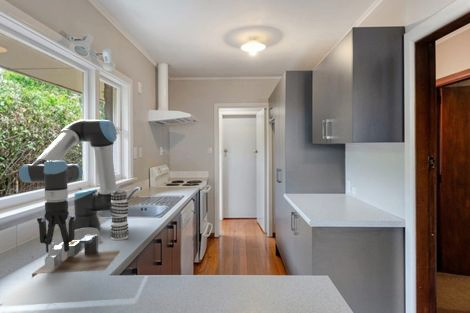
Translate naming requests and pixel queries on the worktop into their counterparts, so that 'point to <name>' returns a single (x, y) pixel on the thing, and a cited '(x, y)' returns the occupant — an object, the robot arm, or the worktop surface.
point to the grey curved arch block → (86, 233)
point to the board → (82, 263)
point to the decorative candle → (119, 215)
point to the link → (56, 254)
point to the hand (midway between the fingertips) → (58, 259)
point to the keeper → (90, 244)
